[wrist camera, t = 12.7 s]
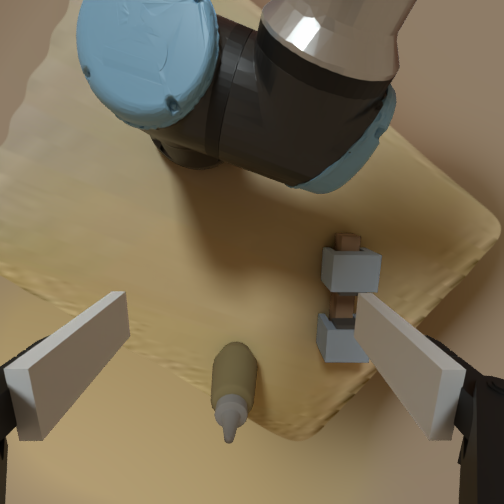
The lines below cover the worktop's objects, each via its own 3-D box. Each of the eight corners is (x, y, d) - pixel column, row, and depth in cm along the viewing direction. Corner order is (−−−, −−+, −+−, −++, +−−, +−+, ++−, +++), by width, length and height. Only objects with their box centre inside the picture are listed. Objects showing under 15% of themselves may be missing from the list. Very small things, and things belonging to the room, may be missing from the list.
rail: (335, 233, 46) (342, 236, 43) (352, 233, 46) (360, 236, 43) (326, 345, 51) (332, 356, 47) (342, 345, 51) (348, 356, 47)
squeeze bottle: (246, 378, 52) (244, 472, 35) (208, 363, 51) (187, 452, 34) (263, 345, 51) (271, 427, 33) (225, 329, 50) (212, 404, 32)
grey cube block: (323, 247, 46) (333, 255, 40) (365, 247, 46) (381, 255, 40) (320, 283, 47) (330, 296, 42) (361, 283, 47) (377, 296, 42)
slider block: (354, 342, 50) (368, 362, 44) (316, 342, 50) (325, 362, 44) (358, 310, 49) (373, 326, 43) (318, 310, 49) (327, 326, 43)
